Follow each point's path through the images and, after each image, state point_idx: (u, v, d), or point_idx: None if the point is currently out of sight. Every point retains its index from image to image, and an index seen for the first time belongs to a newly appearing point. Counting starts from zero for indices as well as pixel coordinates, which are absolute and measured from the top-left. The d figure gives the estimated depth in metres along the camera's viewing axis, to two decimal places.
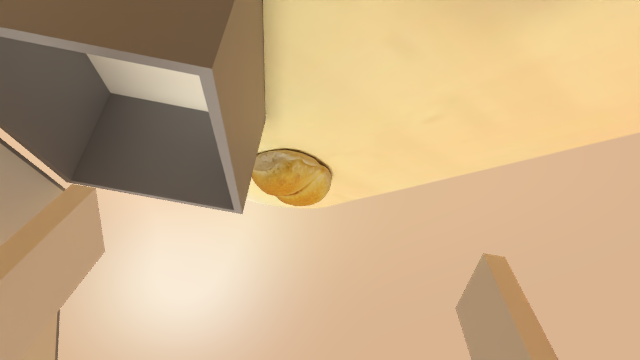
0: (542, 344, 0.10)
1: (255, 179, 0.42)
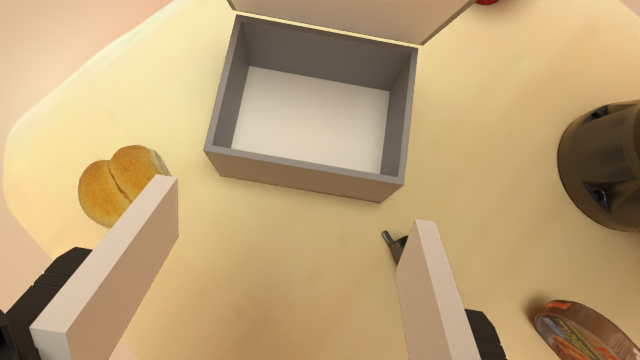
0: (451, 291, 0.11)
1: (141, 150, 0.41)
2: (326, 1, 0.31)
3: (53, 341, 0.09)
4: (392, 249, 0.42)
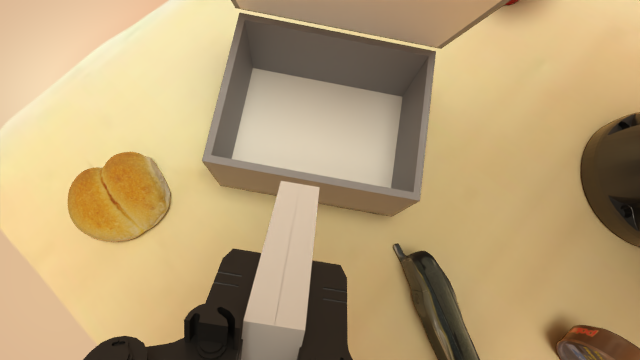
0: (306, 244, 0.12)
1: (135, 158, 0.38)
2: None
3: (259, 333, 0.10)
4: (403, 264, 0.39)
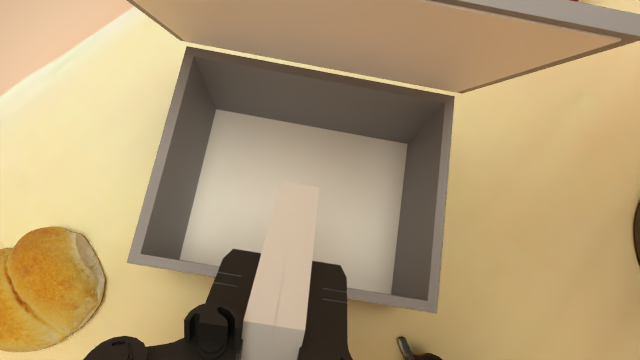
0: (306, 244, 0.12)
1: (54, 238, 0.28)
2: (317, 38, 0.18)
3: (259, 333, 0.10)
4: None
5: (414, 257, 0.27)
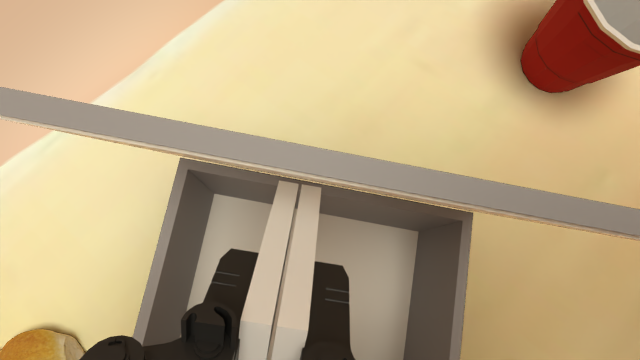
0: (308, 245, 0.12)
1: (41, 348, 0.27)
2: None
3: (257, 333, 0.10)
4: None
5: None
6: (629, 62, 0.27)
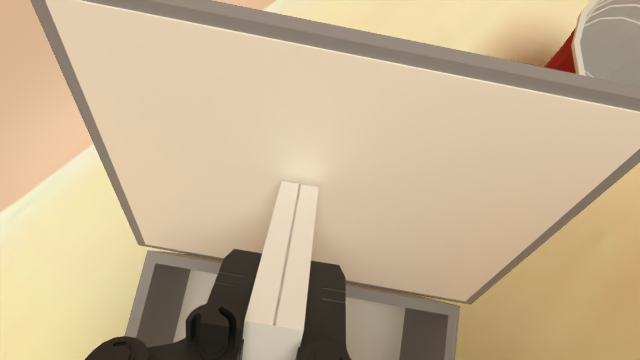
0: (305, 244, 0.12)
1: None
2: None
3: (261, 333, 0.10)
4: None
5: None
6: None
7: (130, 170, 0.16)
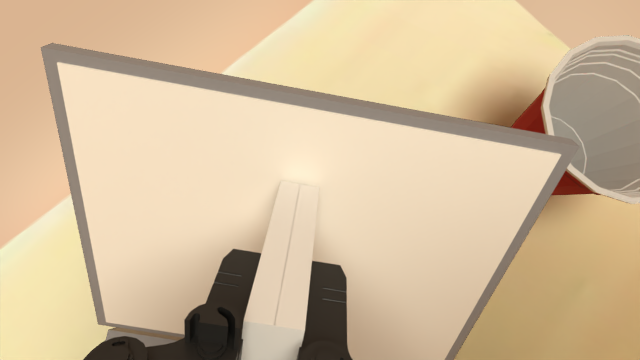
0: (306, 244, 0.12)
1: None
2: None
3: (259, 333, 0.10)
4: None
5: None
6: (599, 194, 0.26)
7: (103, 229, 0.17)
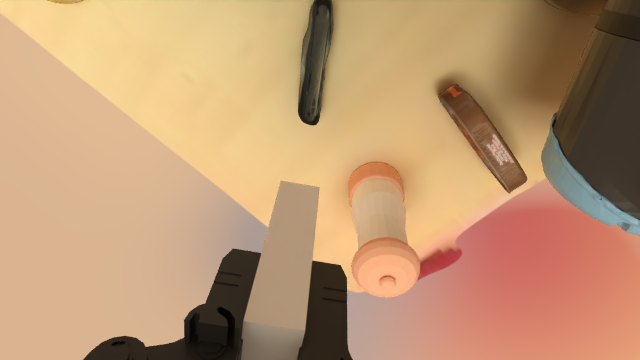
0: (306, 244, 0.12)
1: None
2: None
3: (259, 333, 0.10)
4: None
5: None
6: None
7: None
